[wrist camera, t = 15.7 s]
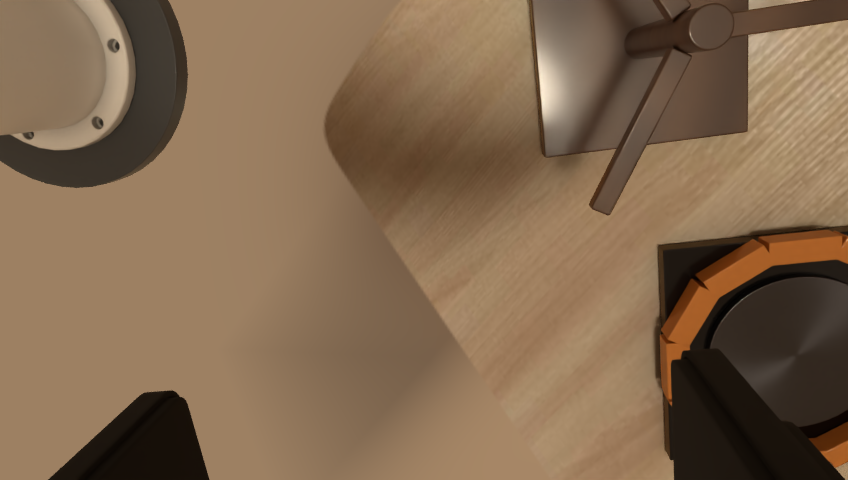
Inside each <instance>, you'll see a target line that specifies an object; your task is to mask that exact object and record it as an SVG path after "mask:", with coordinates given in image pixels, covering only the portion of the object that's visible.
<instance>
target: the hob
mask: <svg viewBox="0 0 848 480" xmlns="http://www.w3.org/2000/svg"><path fill="white" fill-rule="evenodd" d="M819 230H830V231H832V232H833V231H837V232H840V233H842V234H845V235H847V236H848V226H842V227H833V228H823V229H814V230H804V231H794V232H785V233H775V234H765V235H756V236H746V237H736V238H727V239H717V240H707V241H698V242H688V243H678V244H669V245H659V246H658V255H659V282H660V310H661V329H662V327H663V326H664V324H665V322H666V321H667V319H668V317H669V316H670V314H671V312H672V311H673V309H674V307H675V305H676V304H677V302H678V300H679V299H680V297H681V295H682V294H683V292H684V290H685V288H686V287H687V285H688V283H689V282H690V280H691V279H695V280H697V281H699V280H698V278H697V277H696V274H697V273H698V272H700V271H702V270H703V269H705V268H707V267H708V266H710V265H711V264H713V263H715V262H716V261H718V260H720V259H721V258H723V257H724V256H726V255H728V254H729V253H731V252H732V251H734V250H736V249H737V248H739V247H741V246H742V245H744V244H745V243H747V242H749V241H750V240H752V239H754V240H756V241H757V242H758V238H759V237H761V236H771V235H781V234H790V233H800V232H809V231H819ZM662 334H663V332H662V331H661V335H662ZM711 348H718V349H719V350H720V351H721V352H722V353H723V354H724V355H725V356H726V357H727V359H728V360H729V361H730V362H731V363H732V364H733V366H734V367H735V368H736V369H737V370H738V371H739V373H740V374H741V375H742V376H743V377H744V378H745V380H746V381H747V382H748V383H749V384H750V385H751V387H752V388H753V389H754V390H755V391H756V392H757V393H758V395H759V396H760V397H761V398H762V399H763V400H764V402H765V403H766V404H767V405H768V406H769V407H770V409H771V410H772V411H773V412H774V413H775V414H776V416H777V417H778V418H779V419H780V420H781V421H785V420H786V421H790V422H793V423H794V424H795V425H796V426H797V427H798V428H799V429H800V430H801V431H802V432H803V433H804V434H805V435H806V436H807V438H816V437H818V436H820V435H822V434H824V433H826V432H828V431H830V430H832V429H834V428H836V427H838V426H840V425H842V424H844V423H846V422H848V264H846V263H844V262H842V261H839V260H837V259H836V260H826V261H816V262H805V263H795V264H785V265H775V266H771V267H770V268H768V269H766V270H765V271H763V272H761V273H760V274H758V275H756V276H755V277H753V278H751V279H750V280H748V281H746V282H745V283H743V284H741V285H740V286H738V287H736V288H735V289H733V290H731V291H730V292H728V293H726V294H725V295H723V296H721V297H720V298H719V299H718V300H717V302H716V304H715V305H714V307H713V308H712V310H711V312H710V313H709V315H708V317H707V318H706V320H705V321H704V323H703V325H702V326H701V328H700V330H699V331H698V333H697V335H696V336H695V338H694V339H693V341H692V343H691V344H690V350H698V349H711ZM663 394H664V391H663ZM664 421H665V449H666V452H667V454H668V456H669V458H670V460H674V456H673V424H672V406H671V405H670V403H669V402H668V400H667V398H666V396H665V395H664Z"/></svg>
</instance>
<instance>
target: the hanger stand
mask: <svg viewBox="0 0 848 480" xmlns="http://www.w3.org/2000/svg"><path fill="white" fill-rule="evenodd" d="M529 6H530V17H531V28H532V40H533V51H534V62H535V74H536V85H537V96H538V107H539V119H540V130H541V141H542V153H543V155H544V156H545V157H546V158H548V157H555V156H563V155H571V154H579V153H587V152H594V151H602V150H610V149H616V151H615V153H614V155H613V157H612V159H611V161H610V163H609V165H608V167H607V169H606V171H605V173H604V175H603V177H602V179H601V181H600V183H599V185H598V187H597V189H596V191H595V193H594V195H593V197H592V199H591V201H590V203H589V206H590V207H591V208H592V209H593V210H596V211H598V212H601V213H603V214H606V215H610V214H611V212H612V210H613V208H614V206H615V205H616V203H617V201H618V199H619V197H620V195H621V193H622V191H623V189H624V187H625V185H626V183H627V181H628V180H629V178H630V176H631V174H632V172H633V170H634V168H635V166H636V164H637V162H638V160H639V158H640V157H641V155H642V153H643V151H644V149H645V147H646V145H649V144H657V143H665V142H672V141H680V140H688V139H696V138H704V137H711V136H719V135H727V134H735V133H743V132H747V130H748V35H751V34H757V33H764V32H771V31H777V30H784V29H790V28H797V27H804V26H810V25H817V24H824V23H830V22H837V21H843V20H848V0H810V1H804V2H797V3H791V4H785V5H778V6H772V7H766V8H759V9H753V10H748V0H529Z"/></svg>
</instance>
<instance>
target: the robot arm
mask: <svg viewBox="0 0 848 480" xmlns="http://www.w3.org/2000/svg"><path fill="white" fill-rule="evenodd" d="M119 45H120V48H119ZM135 81H136V65H135V55H134V51H133V46H132V42H131V39H130V36H129V34H128V31H127V29H126V26H125V24H124V21H123V20H122V18H121V16H120V15H119V13H118V11H117V10H116V8H115V6H114V5H113V4H112V3H111V1H110V0H0V135H8V134H10V135H12V136H14V137H15V138H17V139H19V140H21V141H22V142H25V143H27V144H30V145H33V146H36V147H38V148H44V149H50V150H71V149H77V148H82V147H86V146H89V145H91V144H94V143H97V142H99V141H100V140H102V139H103V138H105V137H106V136H108V135H109V134H111V133H112V132H113V131H114V129H115V128H116V127H117V126H118V125H119V124H120V123H121V122H122V120H123V118H124V116H125V115H126V113H127V111H128V109H129V107H130V104H131V101H132V98H133V95H134V89H135ZM671 393H672V424H673V456H674V480H845V479H844V478H843V477H842V476H841V474H840V473H839V472H838V471H837V470H836V469H835V468H834V467H833V466H832V464H831V463H830V462H829V461H828V460H827V459H826V458H825V457H824V455H823V454H822V453H821V452H820V451H819V450H818V449H817V448H816V446H815V445H814V444H813V443H812V442H811V441H810V440H809V439H808V438H807V436H806V435H805V434H804V433H803V432H802V431H801V430H800V429H799V428H798V427H797V426H796V425H795V424H794V423H793V422H790V421H786V420H785V421H781V420H780V419H779V418H778V417H777V416H776V414H775V413H774V412H773V411H772V410H771V409H770V407H769V406H768V405H767V404H766V403H765V402H764V400H763V399H762V398H761V397H760V396H759V395H758V393H757V392H756V391H755V390H754V389H753V388H752V387H751V385H750V384H749V383H748V382H747V381H746V380H745V378H744V377H743V376H742V375H741V374H740V373H739V371H738V370H737V369H736V368H735V367H734V366H733V364H732V363H731V362H730V361H729V360H728V359H727V357H726V356H725V355H724V354H723V353H722V352H721V351H720V350H719V349H718V348H711V349H698V350H685V351H683V352H682V354H681V359H675V360H672V361H671ZM48 480H209V477H208V473H207V470H206V467H205V463H204V460H203V456H202V453H201V449H200V446H199V442H198V439H197V436H196V432H195V429H194V425H193V421H192V418H191V415H190V411H189V408H188V404H187V402H186V400H185V399H184V398H182V397H179V395H178V394H177V393H176V392H174V391H159V392H147V393H143V394H141V395H140V396H139V397H138V398H137V399H136V400H134V401H133V402H132V403H131V404H130V405H129V406H128V407H127V408H126V409H125V410H124V411H123V412H121V413H120V414H119V415H118V416H117V417H116V418H115V419H114V420H113V421H112V422H111V423H109V424H108V425H107V426H106V427H105V428H104V429H103V430H102V431H101V432H100V433H99V434H97V435H96V436H95V437H94V438H93V439H92V440H91V441H90V442H89V443H88V444H87V445H85V446H84V447H83V448H82V449H81V450H80V451H79V452H78V453H77V454H76V455H75V456H74V457H72V458H71V459H70V460H69V461H68V462H67V463H66V464H65V465H64V466H63V467H62V468H60V469H59V470H58V471H57V472H56V473H55V474H54V475H53V476H52V477H51V478H50V479H48Z"/></svg>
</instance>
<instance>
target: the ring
mask: <svg viewBox="0 0 848 480" xmlns="http://www.w3.org/2000/svg"><path fill="white" fill-rule="evenodd" d="M836 259H837V260H839V261H842V262H844V263H846V264H848V236H847V235H845V234H842V233H840V232H837V231H833V232H832V231H830V230H819V231H809V232H800V233H790V234H781V235H771V236H761V237H759V238H758V242H757V241H756V240H754V239H752V240H750V241H749V242H747V243H745V244H744V245H742V246H741V247H739V248H737V249H736V250H734V251H732V252H731V253H729V254H728V255H726V256H724V257H723V258H721V259H720V260H718V261H716V262H715V263H713V264H711V265H710V266H708V267H707V268H705V269H703V270H702V271H700V272H698V273H697V274H696V277H697V278H698V280H699V281H697V280H695V279H691V280H690V282H689V283H688V285H687V287H686V288H685V290H684V292H683V294H682V295H681V297H680V299H679V300H678V302H677V304H676V305H675V307H674V309H673V311H672V312H671V314H670V316H669V317H668V319H667V321H666V322H665V324H664V326H663V327H662V329H661V331H662V332H663V334H662V335H660V358H661V384H662V389H663V391H664V395H665V396H666V398H667V400H668V402H669V403H670V405H671V406H672V393H671V361H672V360H675V359H681V354H682V352H683V351H685V350H690V344H691V343H692V341H693V339H694V338H695V336H696V335H697V333H698V331H699V330H700V328H701V326H702V325H703V323H704V321H705V320H706V318H707V317H708V315H709V313H710V312H711V310H712V308H713V307H714V305H715V304H716V302H717V300H718V299H719V298H720V297H721V296H723V295H725V294H726V293H728V292H730V291H731V290H733V289H735V288H736V287H738V286H740V285H741V284H743V283H745V282H746V281H748V280H750V279H751V278H753V277H755V276H756V275H758V274H760V273H761V272H763V271H765V270H766V269H768V268H770V267H771V266H775V265H785V264H795V263H805V262H816V261H826V260H836ZM808 439H809V440H810V441H811V442H812V443H813V444H814V445H815V446H816V448H817V449H818V450H819V451H820V452H821V453H822V454H823V455H824V457H825V458H826V459H827V460H828V461H829V462H830V463H831V464H832V465H833V466H834V467H838V466H840V465H842V464H844V463H846V462H848V422H846V423H844V424H842V425H840V426H838V427H836V428H834V429H832V430H830V431H828V432H826V433H824V434H822V435H820V436H818V437H816V438H808Z"/></svg>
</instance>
